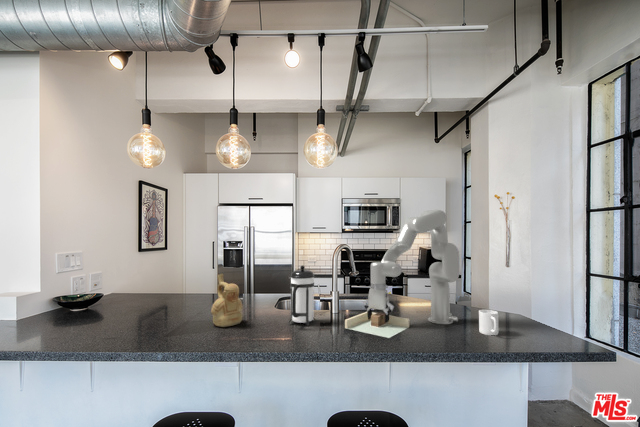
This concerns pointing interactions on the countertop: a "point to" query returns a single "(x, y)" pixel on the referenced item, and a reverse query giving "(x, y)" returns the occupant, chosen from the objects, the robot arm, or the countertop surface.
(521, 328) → the countertop surface
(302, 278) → the coffee press
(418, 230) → the robot arm
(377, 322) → the copper block
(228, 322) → the ceramic vessel
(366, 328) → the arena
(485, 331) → the cup
